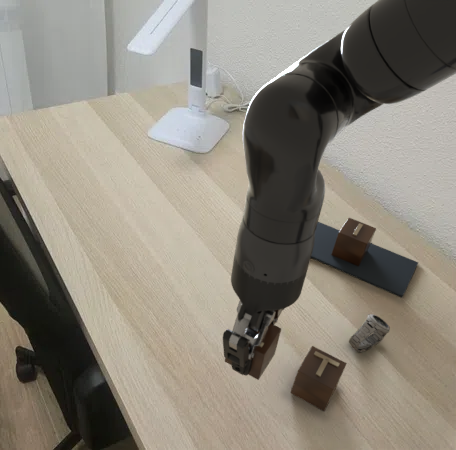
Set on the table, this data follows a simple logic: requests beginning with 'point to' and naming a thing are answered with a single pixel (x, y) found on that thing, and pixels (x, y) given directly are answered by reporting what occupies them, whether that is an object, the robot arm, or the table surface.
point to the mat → (366, 262)
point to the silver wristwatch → (369, 333)
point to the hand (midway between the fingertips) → (250, 354)
